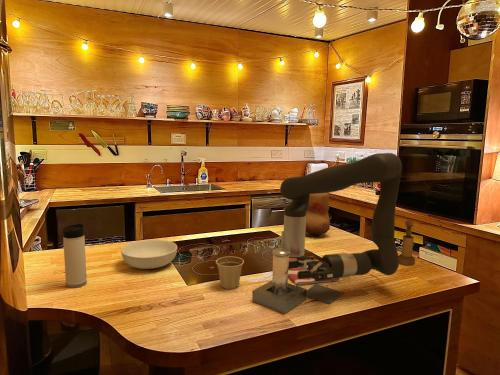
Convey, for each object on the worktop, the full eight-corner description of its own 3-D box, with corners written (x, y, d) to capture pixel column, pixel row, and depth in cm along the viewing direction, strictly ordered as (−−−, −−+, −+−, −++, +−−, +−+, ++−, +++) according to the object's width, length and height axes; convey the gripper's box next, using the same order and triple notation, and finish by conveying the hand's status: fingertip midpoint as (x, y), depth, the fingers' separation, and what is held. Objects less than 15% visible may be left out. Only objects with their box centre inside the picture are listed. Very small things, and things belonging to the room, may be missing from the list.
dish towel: (312, 260, 149) (312, 254, 149) (341, 283, 127) (341, 276, 127) (273, 263, 145) (274, 257, 145) (296, 288, 123) (296, 280, 122)
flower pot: (222, 293, 116) (222, 268, 115) (211, 282, 124) (211, 258, 123) (248, 288, 120) (248, 263, 119) (236, 278, 129) (236, 254, 127)
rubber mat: (301, 294, 116) (301, 293, 116) (316, 285, 124) (316, 283, 124) (329, 304, 110) (329, 303, 110) (343, 293, 118) (343, 292, 118)
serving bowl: (109, 269, 134) (108, 251, 133) (145, 252, 153) (145, 237, 152) (155, 279, 127) (155, 260, 126) (187, 260, 146) (187, 243, 145)
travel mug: (91, 281, 123) (88, 224, 120) (76, 289, 117) (73, 229, 114) (77, 278, 125) (74, 222, 122) (61, 286, 119) (58, 227, 116)
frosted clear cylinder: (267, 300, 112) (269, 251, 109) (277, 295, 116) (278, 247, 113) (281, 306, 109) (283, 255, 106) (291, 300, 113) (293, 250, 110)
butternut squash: (301, 238, 179) (303, 188, 175) (302, 231, 192) (304, 184, 188) (329, 240, 177) (332, 189, 173) (328, 232, 190) (331, 185, 186)
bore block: (252, 301, 111) (252, 290, 111) (274, 288, 120) (275, 278, 120) (284, 314, 104) (285, 302, 103) (306, 299, 113) (306, 289, 112)
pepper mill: (416, 266, 144) (420, 222, 141) (399, 265, 145) (402, 221, 142) (412, 260, 150) (416, 218, 147) (395, 259, 151) (399, 217, 149)
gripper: (350, 285, 109) (301, 291, 105) (327, 269, 123) (282, 273, 118) (351, 262, 108) (302, 266, 104) (328, 247, 122) (283, 251, 117)
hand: (292, 270), depth 111 cm, fingers open, 8 cm apart
